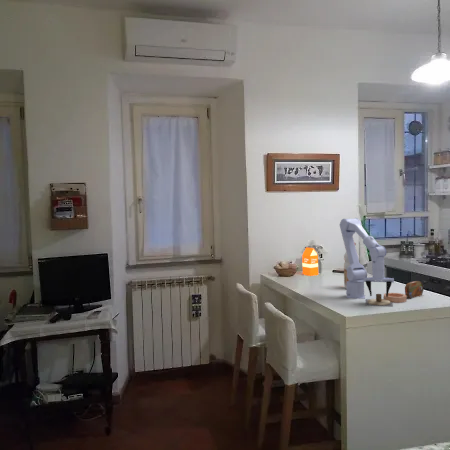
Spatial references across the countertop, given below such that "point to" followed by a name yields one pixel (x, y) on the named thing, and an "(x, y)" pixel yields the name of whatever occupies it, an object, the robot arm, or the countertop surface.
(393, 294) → the bowl
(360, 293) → the robot arm
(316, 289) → the countertop surface
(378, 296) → the lid
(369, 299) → the mat
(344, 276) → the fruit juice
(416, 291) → the tin
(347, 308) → the countertop surface
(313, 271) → the orange juice
